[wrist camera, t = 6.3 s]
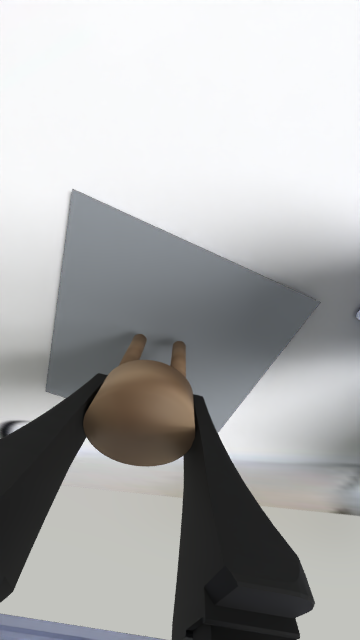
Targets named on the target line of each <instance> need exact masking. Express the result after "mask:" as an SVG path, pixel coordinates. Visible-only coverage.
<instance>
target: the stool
mask: <svg viewBox="0 0 360 640" xmlns="http://www.w3.org/2000/svg"><path fill="white" fill-rule="evenodd" d="M146 342H147V339H146V337H145V336H144V335H143V334H137V335H135V336H134V338H133V340H132V342H131V343H130V345H129V347H128V349H127V351H126V353H125V355H124V356H123V358H122V360H121V362H120V364H119V366H117V367H116V368H115V369H113V370H112V371H111V372H110V373H109V374H108V376H107V377H106V379H105V381H104V382H103V384H102V386H101V387H100V389H99V391H98V393H97V394H96V396H95V398H94V399H93V401H92V403H91V405H90V406H89V408H88V410H87V412H86V414H85V416H84V420H83V427H84V432H85V435H86V436H87V438H88V440H89V441H90V443H91V444H92V445H93V446H94V447H95V448H96V449H97V450H98V451H99V452H101V453H102V454H104V455H105V456H107V457H109V458H111V459H113V460H116V461H118V462H121V463H125V464H129V465H134V466H157V465H163V464H167V463H170V462H173V461H175V460H177V459H179V458H180V457H182V456H183V455H184V454H186V453H187V452H188V451H189V449H190V448H191V446H192V443H193V441H194V439H195V417H194V399H193V391H192V388H191V385H190V383H189V382H188V380H187V379H186V345H185V343H184V342H182V341H176V342H175V343H174V344H173V348H172V356H171V364H170V366H169V365H167V364H165V363H162V362H158V361H153V360H140V357H141V355H142V352H143V350H144V347H145V344H146Z"/></svg>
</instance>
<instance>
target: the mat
mask: <svg viewBox="0 0 360 640" xmlns="http://www.w3.org/2000/svg"><path fill="white" fill-rule="evenodd" d="M319 304H320V302H319V301H317V300H315V299H313V298H310V297H308V296H306V295H304V294H302V293H299V292H297V291H295V290H293V289H291V288H289V287H286V286H284V285H282V284H280V283H278V282H275V281H273V280H271V279H269V278H267V277H264V276H262V275H260V274H258V273H256V272H253V271H251V270H249V269H247V268H245V267H243V266H240V265H238V264H236V263H234V262H232V261H229V260H227V259H225V258H223V257H221V256H218V255H216V254H214V253H212V252H210V251H208V250H205V249H203V248H201V247H199V246H197V245H194V244H192V243H190V242H188V241H186V240H183V239H181V238H179V237H177V236H175V235H173V234H170V233H168V232H166V231H164V230H162V229H159V228H157V227H155V226H153V225H151V224H148V223H146V222H144V221H142V220H140V219H138V218H135V217H133V216H131V215H129V214H127V213H124V212H122V211H120V210H118V209H116V208H113V207H111V206H109V205H107V204H105V203H103V202H100V201H98V200H96V199H94V198H92V197H89V196H87V195H85V194H83V193H81V192H78V191H76V190H74V189H72V197H71V204H70V212H69V219H68V226H67V234H66V241H65V249H64V256H63V264H62V271H61V279H60V286H59V294H58V301H57V309H56V316H55V324H54V331H53V339H52V346H51V354H50V361H49V369H48V376H47V384H46V392H49V393H52V394H55V395H58V396H61V397H64V398H67V397H69V396H70V395H71V394H72V393H74V392H75V391H76V390H78V389H79V388H80V387H82V386H83V385H84V384H85V383H87V382H88V381H89V380H90V379H91V378H93V377H94V376H95V375H96V374H98V373H101V374H105V375H108V374H109V373H110V372H111V371H112V370H113V369H115V368H116V367H117V366H119V364H120V362H121V360H122V358H123V356H124V355H125V353H126V351H127V349H128V347H129V345H130V343H131V342H132V340H133V338H134V336H135V335H137V334H143V335H144V336H145V337H146V339H147V342H146V344H145V347H144V350H143V352H142V355H141V357H140V360H153V361H158V362H162V363H165V364H167V365H169V366H170V364H171V356H172V348H173V344H174V343H175V342H176V341H182V342H184V343H185V345H186V379H187V380H188V382H189V383H190V385H191V388H192V391H193V394H195V395H200V396H203V398H204V400H205V403H206V406H207V409H208V411H209V414H210V417H211V419H212V421H213V424H214V426H215V428H216V431H217V433H218V432H219V431H220V430H221V428H222V427H223V426H224V425H225V423H226V422H227V421H228V419H229V418H230V417H231V416H232V414H233V413H234V412H235V411H236V409H237V408H238V407H239V405H240V404H241V403H242V402H243V400H244V399H245V398H246V397H247V395H248V394H249V393H250V391H251V390H252V389H253V388H254V386H255V385H256V384H257V383H258V381H259V380H260V379H261V377H262V376H263V375H264V374H265V372H266V371H267V370H268V369H269V367H270V366H271V365H272V364H273V362H274V361H275V360H276V358H277V357H278V356H279V355H280V353H281V352H282V351H283V350H284V348H285V347H286V346H287V344H288V343H289V342H290V341H291V339H292V338H293V337H294V336H295V334H296V333H297V332H298V330H299V329H300V328H301V327H302V325H303V324H304V323H305V322H306V320H307V319H308V318H309V316H310V315H311V314H312V313H313V311H314V310H315V309H316V308H317V306H318V305H319Z"/></svg>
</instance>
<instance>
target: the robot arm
mask: <svg viewBox="0 0 360 640" xmlns="http://www.w3.org/2000/svg"><path fill="white" fill-rule="evenodd" d="M356 317H357V319H359V320H360V310H359V311H358V313H357V315H356ZM107 376H108V375H105V374H101V373H98V374H96V375H95V376H94V377H93V378H91V379H90V380H89V381H88V382H87V383H85V384H84V385H83V386H82V387H80V388H79V389H78V390H76V391H75V392H74V393H72V394H71V395H70V396H69V397H67V398H66V399H64V400H63V401H62V402H60V403H59V404H57V405H56V406H54V407H53V408H52V409H50V410H49V411H47V412H46V413H44V414H43V415H41V416H39V417H38V418H36V419H35V420H33V421H31V422H30V423H28V424H27V425H25V426H23V427H21V428H20V429H18V430H16V431H14V432H13V433H11V434H9V435H7V436H5V437H4V438H2V439H0V602H2V601H3V600H4V599H5V598H6V597H8V596H9V595H10V594H11V593H12V592H13V590H14V588H15V586H16V583H17V581H18V579H19V576H20V574H21V572H22V569H23V567H24V565H25V562H26V560H27V558H28V556H29V553H30V551H31V548H32V547H33V544H34V542H35V540H36V538H37V536H38V533H39V531H40V529H41V527H42V525H43V522H44V520H45V518H46V516H47V514H48V511H49V509H50V507H51V505H52V503H53V501H54V499H55V496H56V494H57V492H58V490H59V488H60V486H61V484H62V482H63V480H64V478H65V476H66V473H67V471H68V469H69V467H70V465H71V463H72V462H73V460H74V458H75V456H76V454H77V453H78V451H79V449H80V447H81V446H82V444H83V442H84V441H85V439H86V437H87V436H86V435H85V432H84V427H83V420H84V416H85V414H86V412H87V410H88V408H89V406H90V405H91V403H92V401H93V399H94V398H95V396H96V394H97V393H98V391H99V389H100V387H101V386H102V384H103V382H104V381H105V379H106V377H107ZM193 399H194V417H195V439H194V441H193V443H192V446H191V448H190V449H189V451H188V452H187V453H186V454H184V492H183V509H182V523H181V524H182V525H181V537H180V549H179V561H178V572H177V583H176V594H175V604H174V614H173V624H172V640H297V639H299V638H300V633H299V630H298V626H297V623H296V619H295V618H296V617H298V616H300V615H303V614H305V613H307V612H309V611H311V610H312V609H313V607H314V604H315V602H314V599H313V596H312V593H311V590H310V587H309V584H308V581H307V578H306V575H305V573H304V570H303V568H302V565H301V563H300V560H299V558H298V556H297V555H296V554H295V552H294V551H293V550H292V548H291V547H290V546H289V545H288V544H287V542H286V541H285V539H284V538H283V537H282V536H281V534H280V533H279V532H278V531H277V529H276V528H275V527H274V526H273V524H272V522H271V521H270V520H269V518H268V517H267V516H266V514H265V513H264V511H263V510H262V509H261V507H260V506H259V504H258V503H257V501H256V500H255V498H254V497H253V495H252V494H251V492H250V491H249V489H248V488H247V486H246V485H245V483H244V481H243V480H242V478H241V476H240V475H239V473H238V471H237V470H236V468H235V466H234V464H233V463H232V461H231V459H230V457H229V455H228V453H227V452H226V450H225V448H224V446H223V444H222V442H221V439H220V437H219V435H218V433H217V431H216V428H215V426H214V424H213V421H212V419H211V417H210V414H209V411H208V409H207V406H206V403H205V400H204V398H203V396H200V395H195V394H193ZM0 640H165V639H158V638H152V637H146V636H140V635H133V634H127V633H120V632H114V631H108V630H101V629H95V628H89V627H82V626H76V625H69V624H63V623H57V622H50V621H44V620H38V619H31V618H25V617H19V616H12V615H5V614H0Z"/></svg>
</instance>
